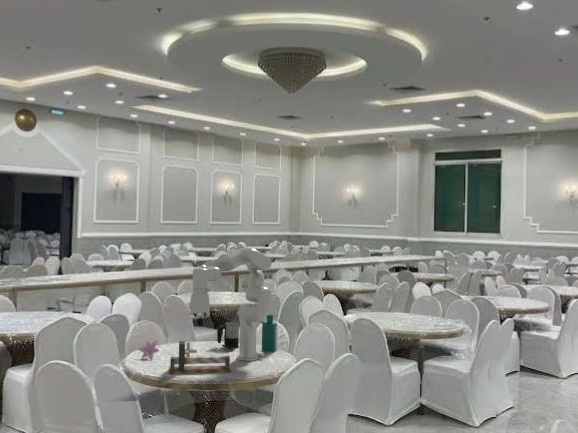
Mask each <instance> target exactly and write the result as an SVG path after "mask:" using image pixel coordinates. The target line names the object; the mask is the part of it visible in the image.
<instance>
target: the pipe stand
mask: <svg viewBox="0 0 578 433" xmlns="http://www.w3.org/2000/svg"><path fill="white" fill-rule="evenodd" d="M230 362H231V358H230V355H223V356H222V355H217V356H213V355H212V356H190V357H187V356H186V355H185V366H184V370H179V356H170V365H169V370H168V374H169V375H177V374H178V375H180V374H181V375H182V374H183V375H184V374H216V373H218V374H221V373H222V374H223V373H232V370H231V367H230V365H231V364H230ZM194 364H195V365H194ZM199 364H201V365H199ZM202 364H206V365H202ZM207 364H222V365H207ZM223 364H224V365H223ZM175 365H178V366H175ZM188 365H189V366H188Z"/></svg>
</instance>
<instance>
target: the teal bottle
mask: <svg viewBox="0 0 578 433" xmlns="http://www.w3.org/2000/svg"><path fill="white" fill-rule="evenodd" d="M274 317H275V314H267V316H266V321H265V320H264V321H263V322H260V323H261V324H262V325H261V352H264V353H265V352H266V353H267V352H268V353H273V352H276V351H277V349H278V323H277V322H274Z"/></svg>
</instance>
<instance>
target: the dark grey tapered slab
mask: <svg viewBox="0 0 578 433" xmlns="http://www.w3.org/2000/svg"><path fill="white" fill-rule="evenodd" d="M185 342H186V340H179V341H178V357H179V364H178V366H179V370H184V366H186V365H185V356H186V355H185V349H186V343H185Z"/></svg>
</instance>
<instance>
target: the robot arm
mask: <svg viewBox="0 0 578 433" xmlns="http://www.w3.org/2000/svg"><path fill="white" fill-rule="evenodd" d="M244 264H245V267H246V268H247V270H248V272H249V280H248V285H247V288H246V292H245V299H246V300H247V301H248V302H251V303H243V304H242V305H240V307H239V308H238V319H239V353H238V355H236V359H237V360H239V361H244V362H252V361H257V360H259V356H265V352H264V351H258V350H257V325H256V323H261V322H263V321H264V322H265V320H267V318H266V316H267V315H268V313H269V309H270V306H271V301H272V292H271V290H270V289H269V288H268V287H265V286H264V283H265V275H264V271H268V270H270V269H271V267H272V259H271V258H270V257H269V256H268V255H266V254H264V253H263V252H262V251H259V250H256V249H255V248H248V247H247V248H246V247H241V248H239V249H236V250H235V251H232V252H231V253H229V254H227V255H226V256H223V257H220V258H219V257H218V258H216V259H212V260H209V261H207V262H205V263H203V264H202V265H200V266H199V267H195V268H194V269H193V270H192V293H191V295H190V302H189V304H190V306H189V308H190V311H189V315H191V316H193V317H194V318H196V324H197V325H198V327H202V325H204V318H205V317H206V316H210V315H211V312H210V311H211V310H210V309H211V308H210V307H211V306H210V305H211V304H210V296H209V295H210V294H209V293H208V292H210V291H211V289H210V288H208V282H215V281H218V280H219V279H221V277H222V272H229V271H230V272H231V271H233V270H235V269H237V268H238V267H240V266H242V265H244ZM254 303H256V304H254ZM199 314H200V316H199Z"/></svg>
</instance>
